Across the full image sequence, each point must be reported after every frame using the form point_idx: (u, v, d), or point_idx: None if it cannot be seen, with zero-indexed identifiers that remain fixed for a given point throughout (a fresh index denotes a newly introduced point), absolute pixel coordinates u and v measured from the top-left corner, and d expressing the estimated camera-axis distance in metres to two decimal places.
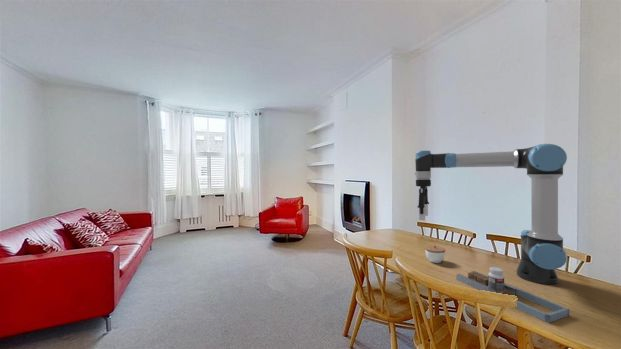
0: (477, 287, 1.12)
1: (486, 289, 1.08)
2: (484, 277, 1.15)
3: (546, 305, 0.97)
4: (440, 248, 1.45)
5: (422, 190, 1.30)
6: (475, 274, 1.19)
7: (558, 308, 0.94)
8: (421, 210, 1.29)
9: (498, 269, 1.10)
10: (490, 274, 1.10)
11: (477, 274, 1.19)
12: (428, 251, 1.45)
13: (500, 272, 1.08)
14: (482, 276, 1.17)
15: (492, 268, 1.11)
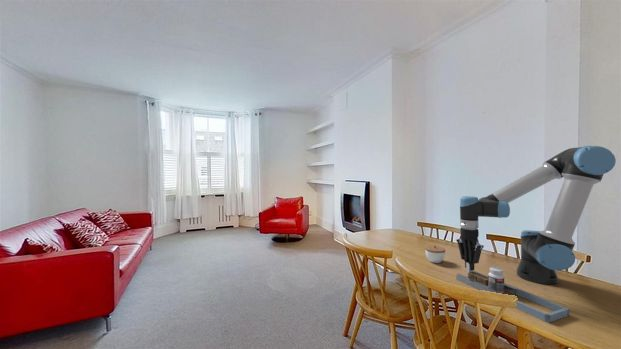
0: (477, 287, 1.12)
1: (486, 289, 1.08)
2: (484, 277, 1.15)
3: (546, 305, 0.97)
4: (440, 248, 1.45)
5: (481, 247, 1.16)
6: (475, 274, 1.19)
7: (558, 308, 0.94)
8: (473, 266, 1.21)
9: (498, 269, 1.10)
10: (490, 274, 1.10)
11: (477, 274, 1.19)
12: (428, 251, 1.45)
13: (500, 272, 1.08)
14: (482, 276, 1.17)
15: (492, 268, 1.11)
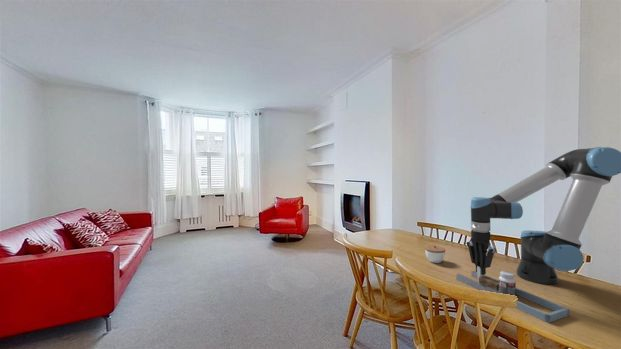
0: (477, 287, 1.12)
1: (486, 289, 1.08)
2: (495, 281, 1.11)
3: (546, 305, 0.97)
4: (440, 248, 1.45)
5: (494, 251, 1.11)
6: (486, 278, 1.14)
7: (558, 308, 0.94)
8: (484, 270, 1.15)
9: (509, 273, 1.05)
10: (501, 278, 1.06)
11: (489, 278, 1.14)
12: (428, 251, 1.45)
13: (511, 276, 1.04)
14: (493, 280, 1.12)
15: (503, 272, 1.07)
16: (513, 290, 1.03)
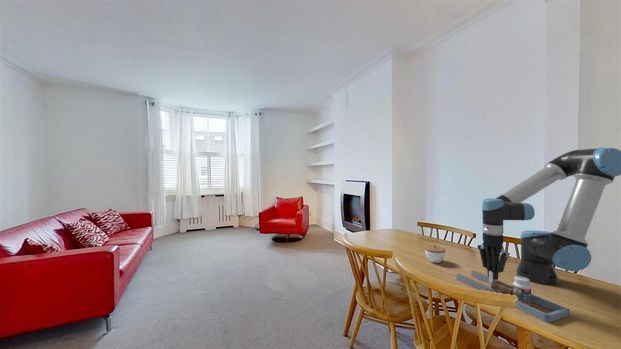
0: (477, 287, 1.12)
1: (486, 289, 1.08)
2: (509, 287, 1.05)
3: (546, 305, 0.97)
4: (440, 248, 1.45)
5: (507, 255, 1.06)
6: (499, 284, 1.08)
7: (558, 308, 0.94)
8: (497, 275, 1.10)
9: (524, 278, 1.00)
10: (515, 284, 1.01)
11: (501, 284, 1.08)
12: (428, 251, 1.45)
13: (527, 282, 0.98)
14: (506, 286, 1.06)
15: (517, 277, 1.01)
16: (529, 296, 0.98)
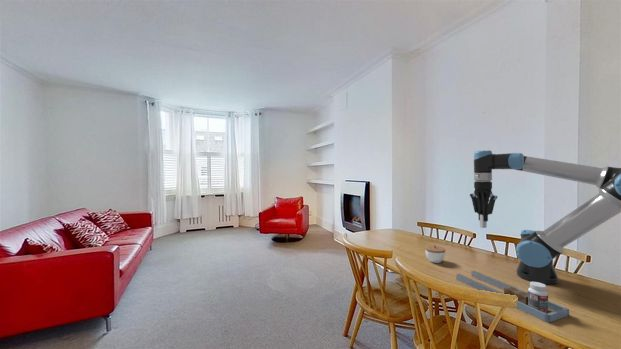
0: (477, 287, 1.12)
1: (486, 289, 1.08)
2: (523, 293, 1.00)
3: None
4: (440, 248, 1.45)
5: (495, 198, 1.21)
6: (513, 290, 1.03)
7: (558, 308, 0.94)
8: (486, 217, 1.25)
9: (540, 284, 0.95)
10: (531, 290, 0.96)
11: (515, 290, 1.03)
12: (428, 251, 1.45)
13: (544, 288, 0.93)
14: (521, 292, 1.01)
15: (533, 283, 0.96)
16: (546, 304, 0.93)
